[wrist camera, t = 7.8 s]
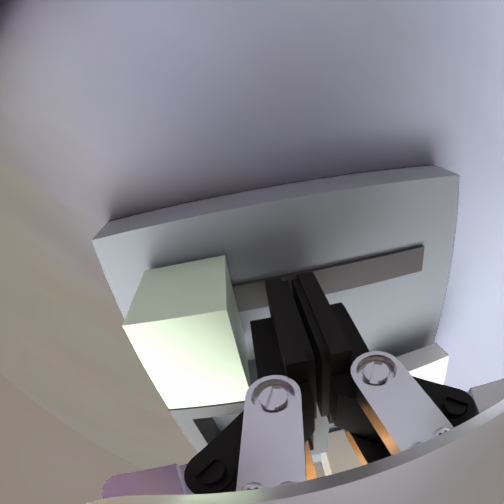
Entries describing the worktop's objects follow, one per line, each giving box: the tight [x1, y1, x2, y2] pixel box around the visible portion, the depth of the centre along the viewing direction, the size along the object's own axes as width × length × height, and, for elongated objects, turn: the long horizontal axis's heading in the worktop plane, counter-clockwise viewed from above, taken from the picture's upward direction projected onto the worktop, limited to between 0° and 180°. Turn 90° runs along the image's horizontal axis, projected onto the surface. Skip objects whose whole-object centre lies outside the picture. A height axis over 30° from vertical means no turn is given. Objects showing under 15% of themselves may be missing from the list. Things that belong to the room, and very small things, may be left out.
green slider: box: [123, 255, 250, 409], centre depth 10 cm, size 3×4×3 cm
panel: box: [92, 165, 459, 463], centre depth 15 cm, size 15×21×4 cm
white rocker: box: [395, 343, 449, 385], centre depth 14 cm, size 4×6×1 cm, turn 10°
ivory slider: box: [321, 429, 362, 476], centre depth 16 cm, size 3×4×3 cm
